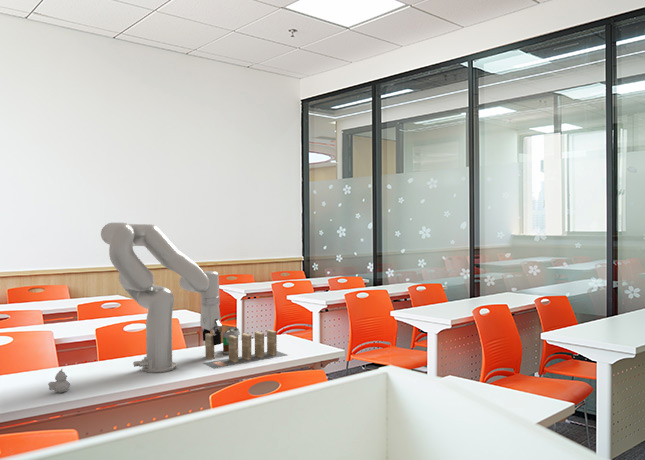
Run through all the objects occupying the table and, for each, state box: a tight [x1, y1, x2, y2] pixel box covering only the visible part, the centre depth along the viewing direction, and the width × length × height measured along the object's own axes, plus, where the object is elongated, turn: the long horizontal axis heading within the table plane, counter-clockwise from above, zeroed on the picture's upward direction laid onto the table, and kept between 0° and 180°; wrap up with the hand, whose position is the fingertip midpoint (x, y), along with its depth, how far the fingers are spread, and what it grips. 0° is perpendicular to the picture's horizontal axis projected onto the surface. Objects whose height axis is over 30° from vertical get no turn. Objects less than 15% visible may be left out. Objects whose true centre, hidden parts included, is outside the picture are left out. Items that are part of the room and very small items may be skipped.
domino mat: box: [202, 350, 288, 369], centre depth 223 cm, size 34×10×1 cm, turn 127°
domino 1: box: [204, 332, 215, 360], centre depth 225 cm, size 2×5×10 cm, turn 37°
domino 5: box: [266, 329, 278, 356], centre depth 230 cm, size 2×5×10 cm, turn 37°
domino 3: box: [241, 332, 252, 360], centre depth 223 cm, size 2×5×10 cm, turn 37°
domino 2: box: [228, 335, 239, 363], centre depth 219 cm, size 2×5×10 cm, turn 37°
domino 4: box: [254, 331, 265, 358], centre depth 226 cm, size 2×5×10 cm, turn 37°
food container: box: [222, 326, 241, 356], centre depth 235 cm, size 12×6×10 cm, turn 179°
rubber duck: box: [47, 368, 71, 394], centre depth 181 cm, size 5×7×8 cm
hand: (211, 342), depth 226 cm, fingers open, 9 cm apart
